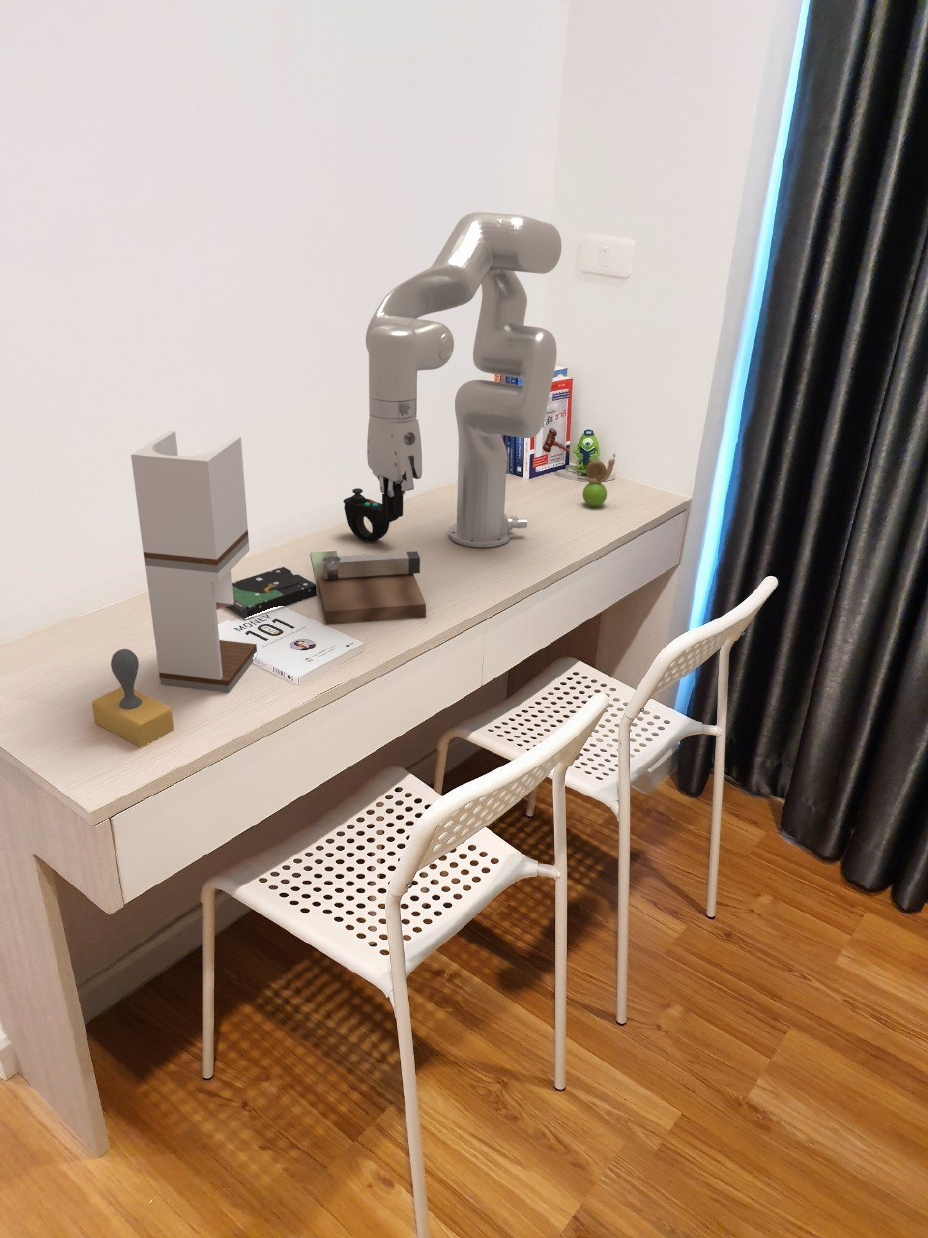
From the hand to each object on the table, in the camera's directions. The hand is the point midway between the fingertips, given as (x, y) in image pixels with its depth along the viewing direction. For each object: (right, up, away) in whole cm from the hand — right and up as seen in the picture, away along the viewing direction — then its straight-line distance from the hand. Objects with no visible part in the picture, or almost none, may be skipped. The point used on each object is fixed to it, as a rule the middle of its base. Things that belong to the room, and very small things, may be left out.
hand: (392, 516), depth 163 cm
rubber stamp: (-33, -32, -29) cm, 55 cm away
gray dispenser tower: (-27, -25, -15) cm, 39 cm away
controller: (-7, -2, +32) cm, 33 cm away
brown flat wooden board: (-6, -11, +14) cm, 19 cm away
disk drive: (-23, -14, +8) cm, 28 cm away
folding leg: (-5, -9, +11) cm, 15 cm away
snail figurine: (+41, +8, +54) cm, 69 cm away
